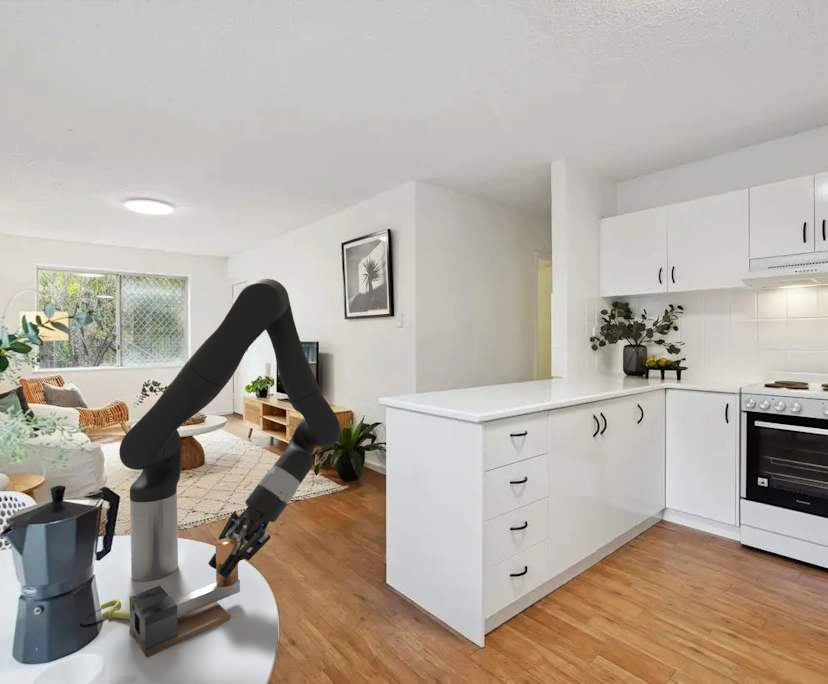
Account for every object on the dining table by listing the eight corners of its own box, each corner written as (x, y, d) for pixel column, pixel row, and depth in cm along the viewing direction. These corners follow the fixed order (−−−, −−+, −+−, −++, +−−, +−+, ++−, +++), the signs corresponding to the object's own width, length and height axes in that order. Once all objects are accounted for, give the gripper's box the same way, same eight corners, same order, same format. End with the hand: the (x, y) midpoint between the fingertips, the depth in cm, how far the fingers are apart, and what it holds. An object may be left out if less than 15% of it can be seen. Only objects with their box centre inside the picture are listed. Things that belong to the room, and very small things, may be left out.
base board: (129, 630, 83) (129, 625, 83) (208, 598, 93) (208, 593, 93) (146, 657, 76) (146, 651, 76) (229, 619, 86) (229, 614, 86)
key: (141, 626, 85) (140, 615, 85) (73, 628, 85) (73, 616, 85) (161, 603, 93) (161, 593, 93) (99, 605, 92) (98, 594, 92)
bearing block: (130, 626, 83) (129, 596, 83) (160, 614, 87) (160, 585, 87) (145, 650, 77) (144, 617, 77) (177, 636, 80) (176, 604, 80)
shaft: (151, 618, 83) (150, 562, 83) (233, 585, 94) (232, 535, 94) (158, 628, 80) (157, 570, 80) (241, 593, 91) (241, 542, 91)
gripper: (246, 476, 101) (188, 550, 93) (278, 491, 91) (217, 576, 83) (269, 494, 105) (216, 567, 97) (302, 511, 95) (247, 593, 86)
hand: (217, 570), depth 90 cm, fingers closed on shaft, 4 cm apart
